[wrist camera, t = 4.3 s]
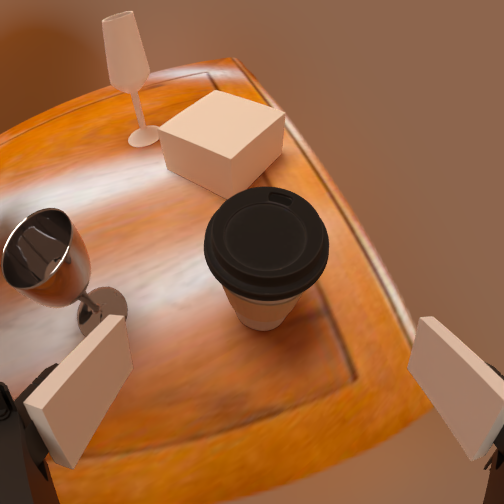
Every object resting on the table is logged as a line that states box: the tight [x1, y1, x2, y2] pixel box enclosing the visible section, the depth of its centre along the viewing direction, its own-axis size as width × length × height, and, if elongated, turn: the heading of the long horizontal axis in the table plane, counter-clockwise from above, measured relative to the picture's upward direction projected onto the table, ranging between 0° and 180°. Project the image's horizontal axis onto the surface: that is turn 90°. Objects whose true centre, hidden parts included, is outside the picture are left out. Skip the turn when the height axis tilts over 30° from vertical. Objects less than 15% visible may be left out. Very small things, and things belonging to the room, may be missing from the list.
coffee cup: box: [204, 187, 329, 331], centre depth 28 cm, size 9×9×15 cm
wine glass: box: [1, 208, 128, 337], centre depth 27 cm, size 8×8×15 cm
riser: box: [157, 90, 285, 200], centre depth 44 cm, size 13×13×8 cm
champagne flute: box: [102, 11, 159, 147], centre depth 41 cm, size 7×7×24 cm
